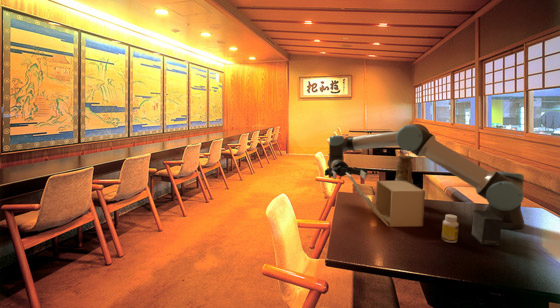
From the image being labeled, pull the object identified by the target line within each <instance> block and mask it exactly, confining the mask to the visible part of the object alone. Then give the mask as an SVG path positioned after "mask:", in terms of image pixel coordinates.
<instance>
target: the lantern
mask: <svg viewBox="0 0 560 308" xmlns="http://www.w3.org/2000/svg"><path fill="white" fill-rule="evenodd" d="M403 151H404V150H403V149H401V152H400V155H398V158H399V160H398V162H397V163H396V165H397V166H396V174H395V179H394V181H407V182H409V183H411V184H414V183H413V182H414V180H413V176H412V172H413V171H414V169H413V161H412V160H413V159H414V157H413V156H411V155H410V154H409V152H407V154H408V155H402V154H403Z"/></svg>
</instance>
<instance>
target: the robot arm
mask: <svg viewBox="0 0 560 308" xmlns="http://www.w3.org/2000/svg"><path fill="white" fill-rule="evenodd" d="M328 144H329V145H328V147H329V148H328V150H329V151H328V155H329V156H328V160H327V165H328V168H326V169H325V170H324V176H325V177H326V176H328V178H332V179H333V180H337V176H338V177H344V176H347V174H346V172H347V173H348V174H350V175H351V176H352V175H356V176H360V177H361V178H362V179H363V180H367V176H368V171H369V170H368V169H365V168H359V167H356V166H353V167H352V166H351V167H350V166H349V165H348V164H347V162H345V161H344V153H345V152H349V151H359V150H366V149H367V150H368V149H377V148H387V147H396V146H398V147H399V148H400V149H401V150H403V151H406V152H410V153H412V154H414V155H416V156H417V157H418V158H421V157H425V158H426V159H428V160H430V161H431V162H433V163H435V164H436V165H438V166H439V167H441V168H442V169H444V170H445V171H448V173H450V174H452V175H454V176H456V178H459V179H460V180H461V181H463V182H465V183H467V184H468V185H470V186H471V187H473V188H474V189H475V192H476V194H477V195H478V196H480V197H482V198H483V199H485V200H486V201H487V202H488V204H487V206H486V208H485V210H484V211H490V212H492V213H493V214H495V215H496V216H498V217H499V218H501V219H502V225H501V229H506V230H508V229H509V230H520V229H521V230H522V229H523V228H525V220H524V216H523V212H522V208H521V207H522V202H523V200H524V197H525V196H524V190H523V189H524V188H523V187H524V182H525V179H524V177H525V176H524V174H522V173H517V172H509V171H506V172H505V171H496V170H495V171H494V170H493V171H488V170H487V169H486V168H483V167H482V166H480V165H479V164H476V163H475V162H474V161H472V160H470V159H468V158H467V157H465V156H463V155H461V154H460V153H458V152H456V151H455V150H453V149H451V148H449V147H448V146H446V145H444V144H443V143H442V142H440V141H438V140H437V139H436V136H435V135H434V134H433V133H431V132H430V131H429V129H428V128H427V127H426V126H425V125H423V124H420V123H414V124H406V125H404V126H402V127H400V129H399V130H393V131H392V130H391V131H386V132H378V133H372V134H363V135H358V136H350V137H344V136H343V135H331V136H329V142H328Z"/></svg>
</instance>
